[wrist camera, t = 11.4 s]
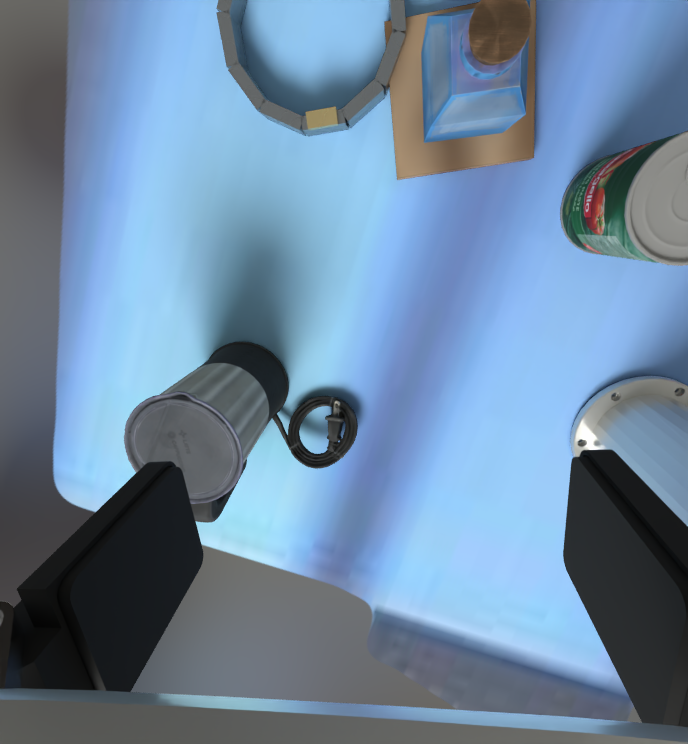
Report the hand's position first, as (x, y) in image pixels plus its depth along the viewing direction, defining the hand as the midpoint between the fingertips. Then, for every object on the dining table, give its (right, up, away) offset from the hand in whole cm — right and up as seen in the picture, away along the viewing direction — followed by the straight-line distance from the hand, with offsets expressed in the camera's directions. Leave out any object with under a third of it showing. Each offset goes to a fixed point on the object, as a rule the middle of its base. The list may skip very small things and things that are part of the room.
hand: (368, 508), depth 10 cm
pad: (+9, +26, +24) cm, 36 cm away
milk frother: (-7, +1, +35) cm, 36 cm away
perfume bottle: (+9, +25, +23) cm, 35 cm away
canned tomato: (+22, +17, +26) cm, 38 cm away
